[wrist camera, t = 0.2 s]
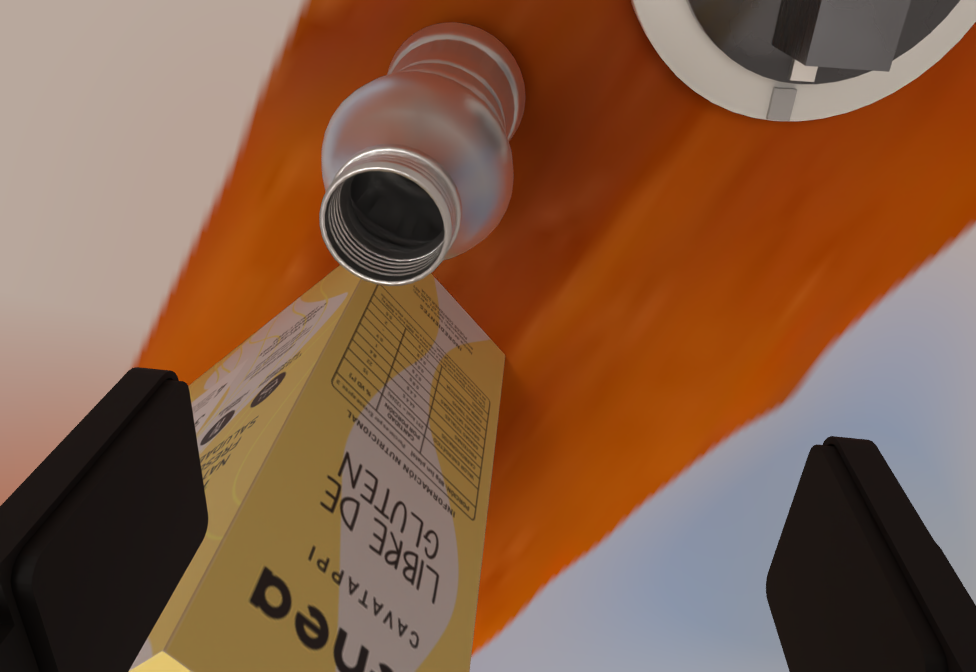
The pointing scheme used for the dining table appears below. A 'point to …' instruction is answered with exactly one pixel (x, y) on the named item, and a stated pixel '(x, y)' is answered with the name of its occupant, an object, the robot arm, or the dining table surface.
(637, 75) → the dining table surface
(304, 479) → the pasta box
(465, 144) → the plastic bottle
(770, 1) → the dial knob
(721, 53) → the dial housing
